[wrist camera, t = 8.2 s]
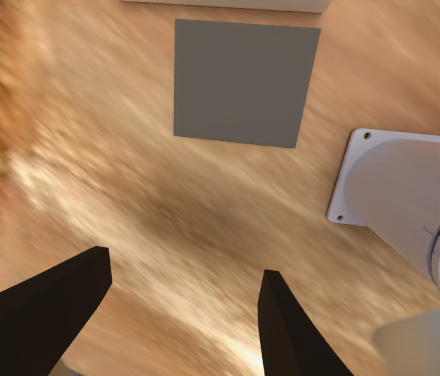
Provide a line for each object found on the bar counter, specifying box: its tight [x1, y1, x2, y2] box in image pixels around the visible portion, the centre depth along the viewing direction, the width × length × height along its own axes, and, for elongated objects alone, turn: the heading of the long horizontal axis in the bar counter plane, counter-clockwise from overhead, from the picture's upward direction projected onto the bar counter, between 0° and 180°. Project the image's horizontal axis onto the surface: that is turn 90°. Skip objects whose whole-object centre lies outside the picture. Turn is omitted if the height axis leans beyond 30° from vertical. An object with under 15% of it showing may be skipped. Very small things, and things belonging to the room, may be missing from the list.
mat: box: [174, 19, 321, 148], centre depth 16 cm, size 10×8×1 cm
